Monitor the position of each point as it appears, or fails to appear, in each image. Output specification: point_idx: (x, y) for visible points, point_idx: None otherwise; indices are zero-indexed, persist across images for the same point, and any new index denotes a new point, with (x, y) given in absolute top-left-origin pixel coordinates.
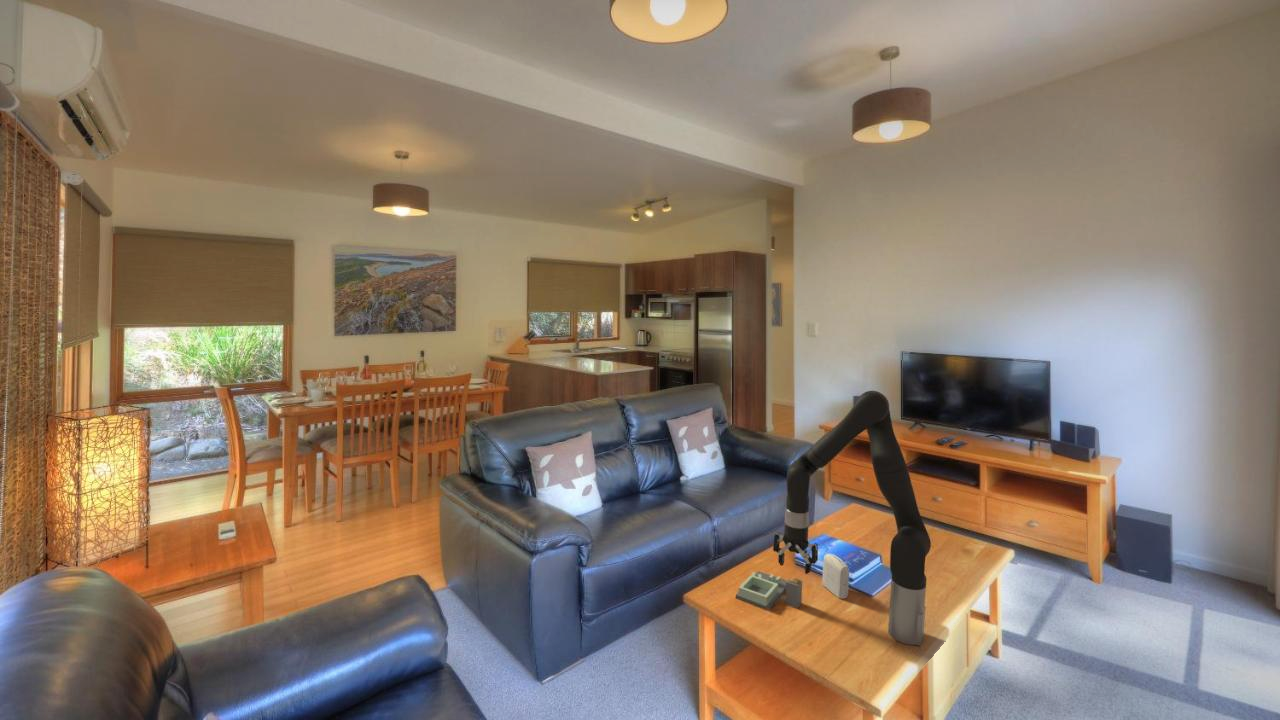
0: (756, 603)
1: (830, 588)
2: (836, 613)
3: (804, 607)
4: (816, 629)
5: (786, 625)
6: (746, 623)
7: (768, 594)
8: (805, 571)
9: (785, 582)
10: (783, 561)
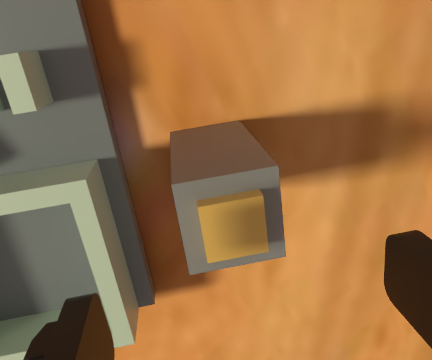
0: None
1: None
2: (424, 71)
3: (270, 146)
4: (376, 254)
5: (267, 317)
6: None
7: (122, 316)
8: (406, 313)
9: (51, 7)
10: (94, 336)
